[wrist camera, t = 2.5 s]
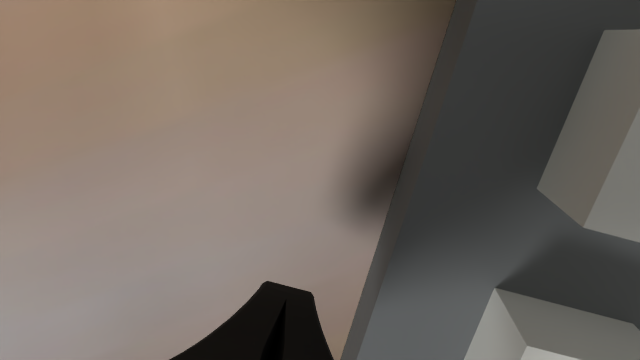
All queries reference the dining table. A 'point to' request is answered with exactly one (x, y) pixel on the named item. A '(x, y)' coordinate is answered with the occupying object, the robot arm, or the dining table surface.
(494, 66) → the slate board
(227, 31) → the dining table surface
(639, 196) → the tile
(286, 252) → the dining table surface
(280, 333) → the robot arm
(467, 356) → the tile
